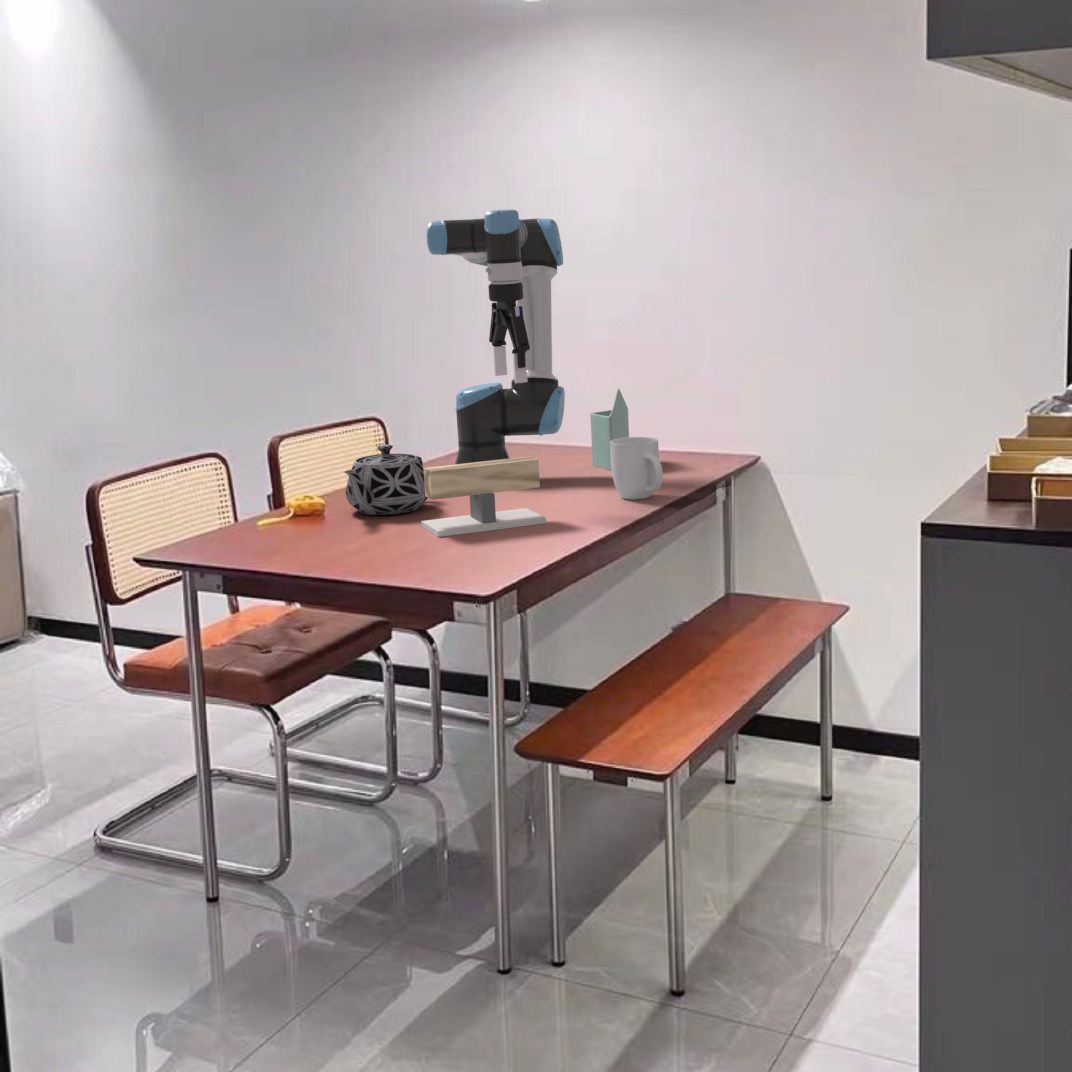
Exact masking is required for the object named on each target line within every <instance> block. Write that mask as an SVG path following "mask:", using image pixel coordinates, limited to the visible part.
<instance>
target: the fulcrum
mask: <svg viewBox="0 0 1072 1072" xmlns="http://www.w3.org/2000/svg"><path fill="white" fill-rule="evenodd" d="M495 496H496V495H495V493H487V494H478V495H470V496H469V511H470V514H468V515H467V514H466V515H459V516H452V517H444V518H436V519H435V518H434V519H427V520H421V527H422V528H423V529H424V530H426V531H428V532H430V533H431V534H432V535H434V536H436V537H437V538H440V537H450V536H458V535H465V534H472V533H481V532H488V531H489V532H490V531H497V530H504V529H505V530H506V529H510V528H512V529H513V528H521V527H526V526H535V525H542V524H547V518H546V517H545V516H543V515H541V514H539V513H537V512H535V511H533V510H531V509H529V508H527V507H524V508H515V509H510V510H509V509H508V510H500V511H496V497H495Z"/></svg>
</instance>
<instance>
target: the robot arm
mask: <svg viewBox="0 0 1072 1072" xmlns="http://www.w3.org/2000/svg"><path fill="white" fill-rule="evenodd" d="M484 213H485V214H484V217H483V218H473V219H471V218H470V219H451V220H450V219H449V220H444V219H440V220H434V221H433V220H432V221H430V222H429V223H428V224H427V227H426V244H427V245H426V246H427V249H428V251H429V253H430V254H431V255H436V256H438V255H441V256H445V255H446V256H447V255H448V256H449V255H455V256H459V257H462V259H464V260H465V261H467V262H468V263H471V264H475V265H479V266H482V267H486V268H485V273H487V280H488V281H489V282H490V283H489V284H488V299H489V301H490V302H492V303H491V316H490V318H491V319H490V328H489V337H488V341H489V343H491V346H492V351H493V369H494V376H495V377H498V376H499V377H500V376H508V366H507V351H506V349H507V348H506V346H507V341H506V336H507V332H508V334H509V337H510V341H511V344H512V348H513V349H512V350H511V354H512V356H513V357H512V361H513V375H514V377H513V378H512V379H511V384H510V385H511V388H504V386H503V384H502V383H501V382H491V383H490V382H489V383H484V384H478V385H473V386H470V387H469V386H468V387H466V388H465V387H464V388H463V389H461V390H459V391H457V393H456V396H455V411H456V412H455V413H456V425H457V440H458V441H457V442H458V443H457V444H458V451H457V455H456V458H455V462H454V465H456V464H465V463H474V462H483V461H492V460H501V459H510V458H511V457H510V455H509V453H508V451H507V448H506V437H512V436H541V437H542V436H544V435H545V436H546V435H553V434H556V433H558V432H559V430H560V429H561V427H562V424H563V423H562V422H563V420H564V419H563V418H564V412H565V404H566V403H565V396H566V392H565V389H564V387H563V386H561V385H559V379H558V378H557V377H556V376H554V374H553V345H552V344H553V342H552V339H553V337H552V335H553V334H552V333H553V331H552V330H553V329H552V328H553V326H552V319H553V318H552V280H553V278H554V277H555V276H556V275H557V274H558V267H560V266H562V265H563V264H564V255H563V247H562V240H561V236H560V231H559V226H558V223H557V221H556V220H554V219H552V218H539V217H536V218H527V219H526V218H525V219H520V216H519V214H520V213H519V212H518V210H517V209H497V210H487V211H486V212H484Z"/></svg>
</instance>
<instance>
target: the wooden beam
mask: <svg viewBox="0 0 1072 1072" xmlns="http://www.w3.org/2000/svg"><path fill="white" fill-rule="evenodd" d="M509 458H510V459H501V460H492V461H483V462H474V463H465V464H456V465H455V464H447V465H440V466H430V467H429V466H428V467H423V469H424V483H425V496H426V497H428V499H430V500H431V501H434V500H442V499H450V498H451V499H452V498H461V497H468V496H469V497H470V495H478V494H487V493H493V494H495V493H500V492H501V493H502V492H512V491H520V490H528V489H536V488H541V483H540V482H541V481H540V464H539V459H538V458H536V457H534V456H521V457H513V458H511V457H509Z"/></svg>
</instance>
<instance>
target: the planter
mask: <svg viewBox="0 0 1072 1072" xmlns="http://www.w3.org/2000/svg"><path fill="white" fill-rule="evenodd" d="M614 397H615V398H614V401H613V402H614V403H613V405H612V409H610V410H603V411H596V412H591V413H590V415H589V416H590V434H591V435H590V436H591V437H590V438H591V455H592V457H591V458H592V459H591V461H592V462H591V463H592V466H594V465H595V466H594V467H596V466H598V467H597V468H600V467H602V468H601V469H603V468H605V470H607V469H608V471H610V472H612V470H611V461H610V460H611V459H610V441H611V440H614V439H619V438H626V437H630V427H629V407H628V405H627V403H626V400H625V398H624V397H623V394H622V392H621V390H620V388H617V390H616V393H615V396H614Z"/></svg>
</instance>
